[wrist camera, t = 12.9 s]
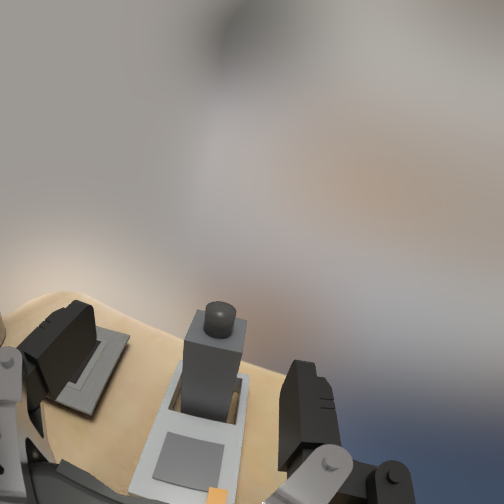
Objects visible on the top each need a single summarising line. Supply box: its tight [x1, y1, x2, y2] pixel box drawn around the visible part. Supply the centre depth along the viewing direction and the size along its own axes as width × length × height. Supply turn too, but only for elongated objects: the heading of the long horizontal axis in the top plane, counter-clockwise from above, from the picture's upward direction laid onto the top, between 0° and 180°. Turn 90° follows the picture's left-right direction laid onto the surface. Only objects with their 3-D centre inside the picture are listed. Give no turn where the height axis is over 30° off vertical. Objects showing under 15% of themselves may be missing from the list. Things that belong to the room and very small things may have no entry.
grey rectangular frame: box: [128, 360, 250, 504], centre depth 21 cm, size 8×17×3 cm, turn 176°
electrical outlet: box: [45, 326, 130, 416], centre depth 25 cm, size 13×10×2 cm
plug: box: [181, 301, 247, 423], centre depth 24 cm, size 4×4×13 cm
